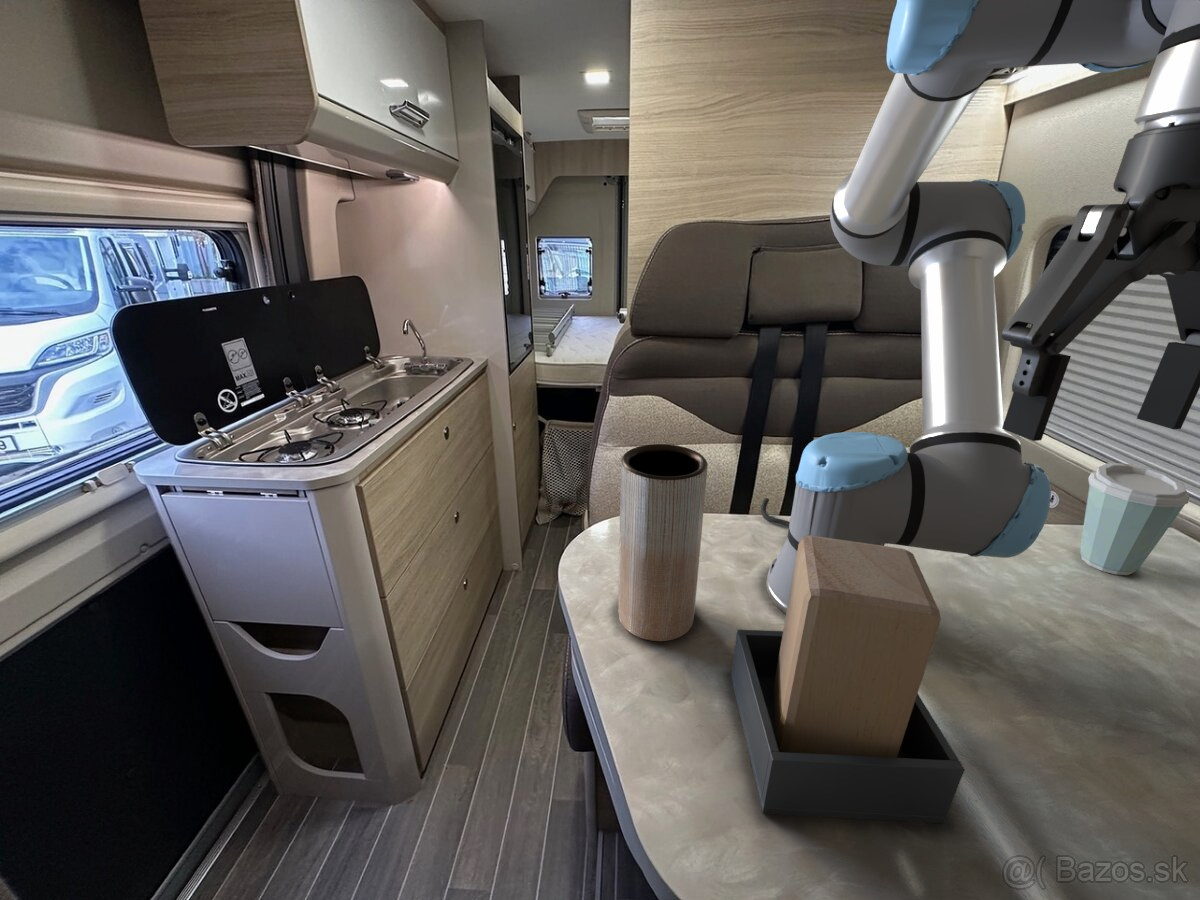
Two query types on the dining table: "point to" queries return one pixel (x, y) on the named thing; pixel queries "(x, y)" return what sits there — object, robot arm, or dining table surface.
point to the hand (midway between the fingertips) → (1091, 429)
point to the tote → (838, 756)
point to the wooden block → (852, 649)
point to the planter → (660, 539)
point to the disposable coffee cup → (1128, 515)
